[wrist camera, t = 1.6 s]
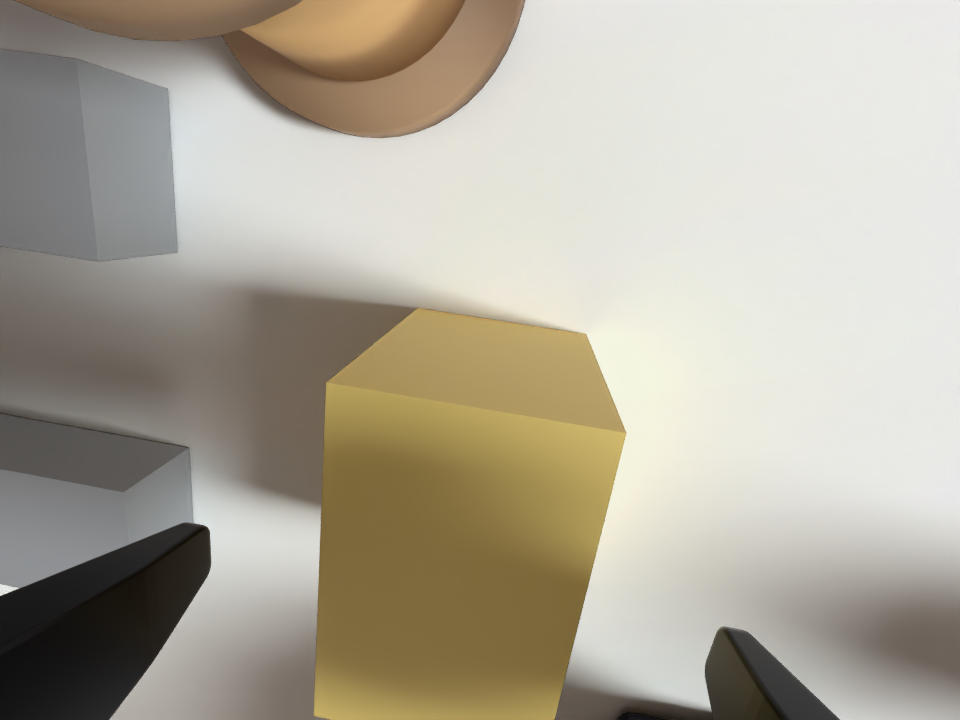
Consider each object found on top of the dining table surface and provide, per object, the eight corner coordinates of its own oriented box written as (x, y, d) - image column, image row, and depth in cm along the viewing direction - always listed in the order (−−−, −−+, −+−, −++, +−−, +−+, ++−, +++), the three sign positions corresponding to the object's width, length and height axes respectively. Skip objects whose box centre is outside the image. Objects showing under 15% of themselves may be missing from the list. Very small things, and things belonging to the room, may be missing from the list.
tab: (540, 552, 15) (543, 765, 9) (397, 525, 15) (313, 715, 9) (585, 333, 13) (626, 432, 7) (418, 307, 13) (326, 382, 7)
